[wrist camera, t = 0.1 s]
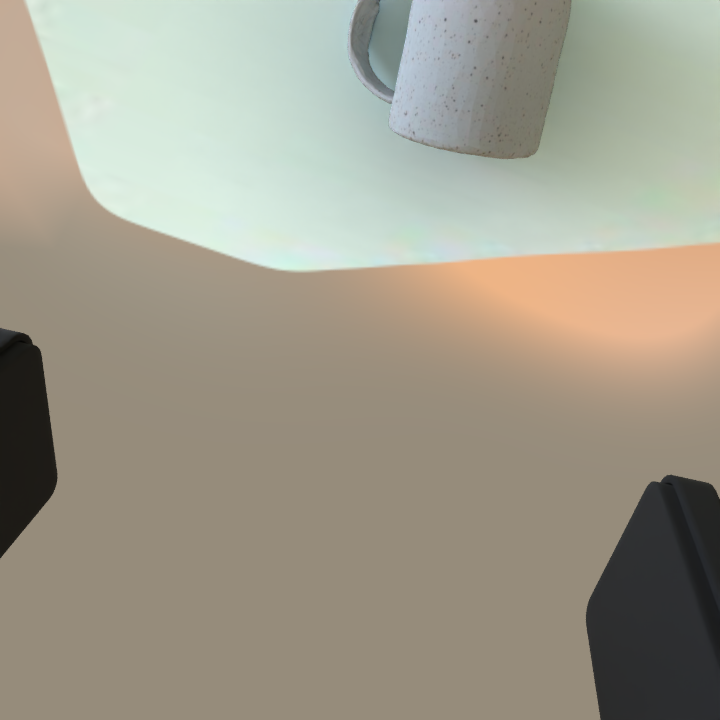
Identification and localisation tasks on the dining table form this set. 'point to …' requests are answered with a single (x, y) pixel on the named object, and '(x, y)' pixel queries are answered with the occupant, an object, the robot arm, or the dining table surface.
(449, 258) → the dining table surface
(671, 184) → the dining table surface
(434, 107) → the ceramic mug
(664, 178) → the dining table surface
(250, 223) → the dining table surface
